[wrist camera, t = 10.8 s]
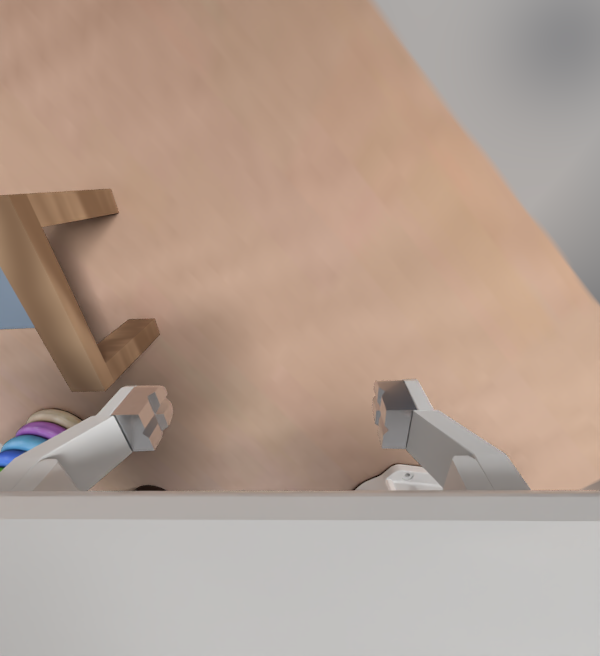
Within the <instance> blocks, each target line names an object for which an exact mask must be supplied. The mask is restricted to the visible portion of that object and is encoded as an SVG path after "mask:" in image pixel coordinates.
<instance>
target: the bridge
mask: <svg viewBox="0 0 600 656" xmlns="http://www.w3.org/2000/svg"><path fill="white" fill-rule="evenodd" d="M115 213H119V211H118V208H117V205H116V202H115V200H114V197H113V194H112V191H111V189H99V190H82V191H65V192H48V193H32V194H15V195H0V267H1V269H2V271H3V273H4V274H5V276H6V278H7V280H8V281H9V283H10V285H11V287H12V288H13V290H14V292H15V294H16V295H17V297H18V299H19V301H20V302H21V304H22V306H23V308H24V309H25V311H26V313H27V315H28V316H29V318H30V320H31V322H32V323H33V325H34V327H35V329H36V330H37V332H38V334H39V336H40V337H41V339H42V341H43V343H44V344H45V346H46V348H47V350H48V351H49V353H50V355H51V356H52V358H53V360H54V362H55V363H56V365H57V367H58V369H59V370H60V372H61V374H62V376H63V377H64V379H65V381H66V383H67V384H68V386H69V388H70V390H71V391H72V392H87V391H106V390H107V389H108V388H109V387H110V386H111V385H112V384H113V383H114V382H115V381H116V380H117V379H118V378H119V377H120V375H121V374H122V373H123V372H124V371H125V370H126V369H127V368H128V367H129V366H130V365H131V364H132V363H133V362H134V361H135V360H136V359H137V358H138V357H139V356H140V355H141V354H142V352H143V351H144V350H145V349H146V348H147V347H148V346H149V345H150V344H151V343H152V342H153V341H154V340H155V339H156V338H157V337H158V336H159V335H160V333H159V330H158V327H157V324H156V321H155V319H133V320H128V321H126V322H125V323H124V324H123V325H121V326H120V327H119V328H117V329H116V330H115V331H114V332H112V333H111V334H110V335H109V336H107V337H106V338H105V339H103V340H102V341H101V342H100V343H98V344H96V342H95V340H94V337H93V335H92V333H91V331H90V329H89V327H88V325H87V323H86V320H85V318H84V316H83V314H82V312H81V310H80V308H79V306H78V303H77V301H76V299H75V297H74V295H73V293H72V291H71V288H70V286H69V284H68V282H67V280H66V278H65V276H64V274H63V271H62V269H61V267H60V265H59V263H58V261H57V259H56V256H55V254H54V252H53V250H52V248H51V246H50V244H49V242H48V239H47V237H46V235H45V233H44V231H43V229H42V227H46V226H51V225H56V224H62V223H67V222H72V221H78V220H83V219H88V218H94V217H99V216H104V215H110V214H115Z"/></svg>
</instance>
